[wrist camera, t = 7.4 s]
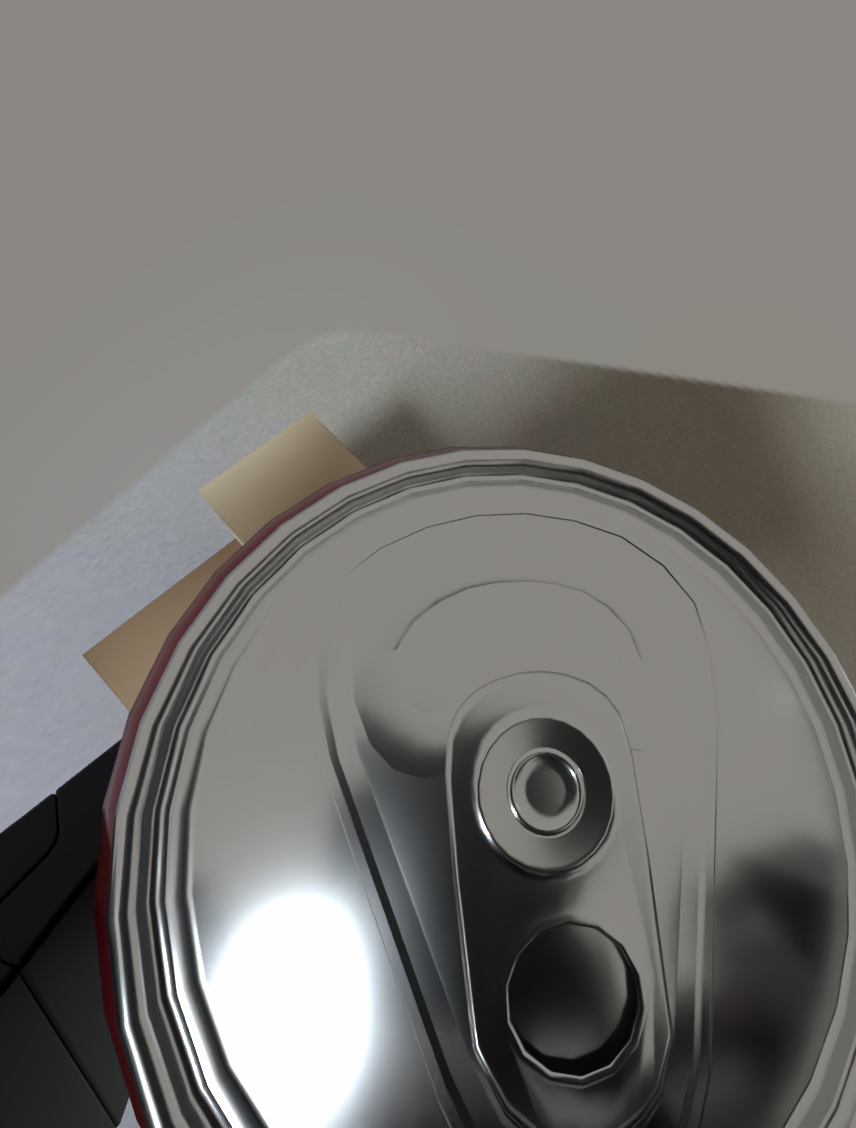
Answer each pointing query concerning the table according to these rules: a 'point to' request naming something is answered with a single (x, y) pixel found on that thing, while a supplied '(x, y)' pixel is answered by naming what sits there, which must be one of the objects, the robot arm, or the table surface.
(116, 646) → the block
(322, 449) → the small beige cube
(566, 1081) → the soda can
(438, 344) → the table surface
